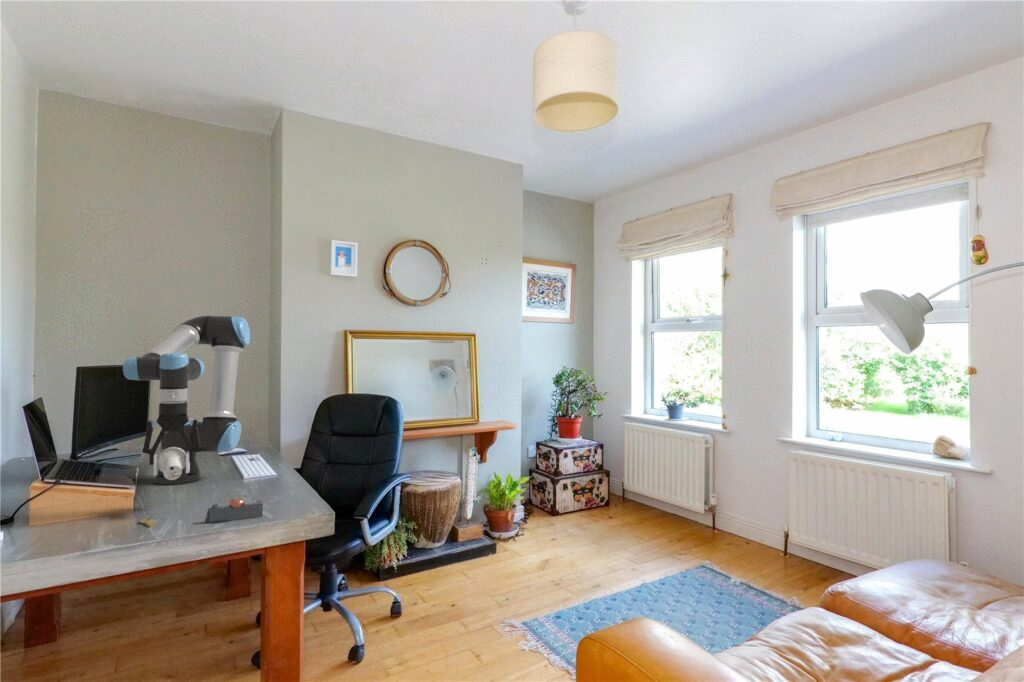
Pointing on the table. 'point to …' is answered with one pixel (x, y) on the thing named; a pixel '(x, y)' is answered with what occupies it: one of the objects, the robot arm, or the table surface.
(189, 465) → the robot arm
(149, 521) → the brass key
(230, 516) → the channel
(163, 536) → the table surface
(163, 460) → the spotlight
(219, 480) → the table surface
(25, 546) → the table surface
